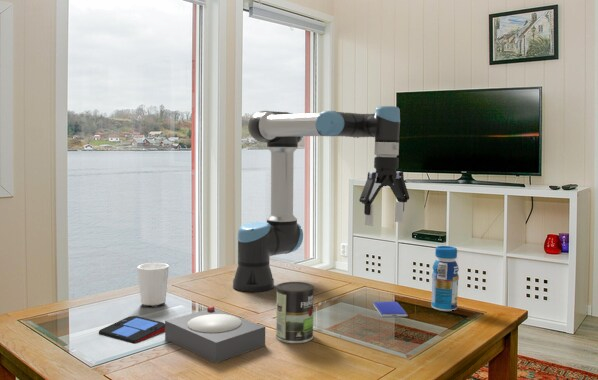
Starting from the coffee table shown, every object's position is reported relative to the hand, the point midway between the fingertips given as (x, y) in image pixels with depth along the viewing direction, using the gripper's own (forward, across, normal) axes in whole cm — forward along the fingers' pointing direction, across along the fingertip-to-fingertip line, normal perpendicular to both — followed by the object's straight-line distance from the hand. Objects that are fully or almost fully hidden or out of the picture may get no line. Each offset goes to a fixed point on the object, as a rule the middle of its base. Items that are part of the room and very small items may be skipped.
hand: (384, 223), depth 165 cm
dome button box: (+28, -57, +6) cm, 64 cm away
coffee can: (+28, -37, -3) cm, 47 cm away
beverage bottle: (+28, +19, -10) cm, 35 cm away
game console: (+29, -71, +26) cm, 81 cm away
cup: (+28, -57, +47) cm, 79 cm away
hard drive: (+29, +2, -2) cm, 29 cm away
